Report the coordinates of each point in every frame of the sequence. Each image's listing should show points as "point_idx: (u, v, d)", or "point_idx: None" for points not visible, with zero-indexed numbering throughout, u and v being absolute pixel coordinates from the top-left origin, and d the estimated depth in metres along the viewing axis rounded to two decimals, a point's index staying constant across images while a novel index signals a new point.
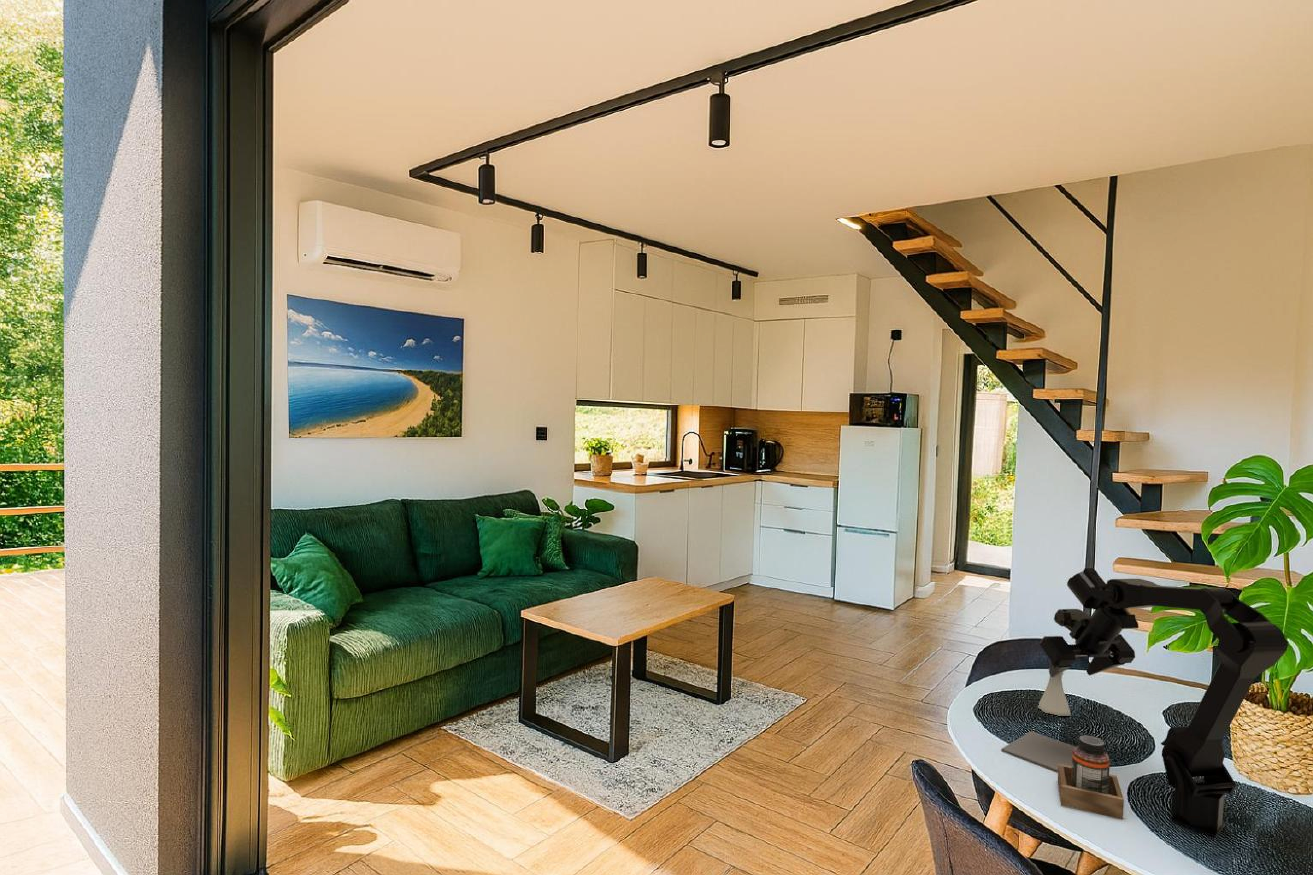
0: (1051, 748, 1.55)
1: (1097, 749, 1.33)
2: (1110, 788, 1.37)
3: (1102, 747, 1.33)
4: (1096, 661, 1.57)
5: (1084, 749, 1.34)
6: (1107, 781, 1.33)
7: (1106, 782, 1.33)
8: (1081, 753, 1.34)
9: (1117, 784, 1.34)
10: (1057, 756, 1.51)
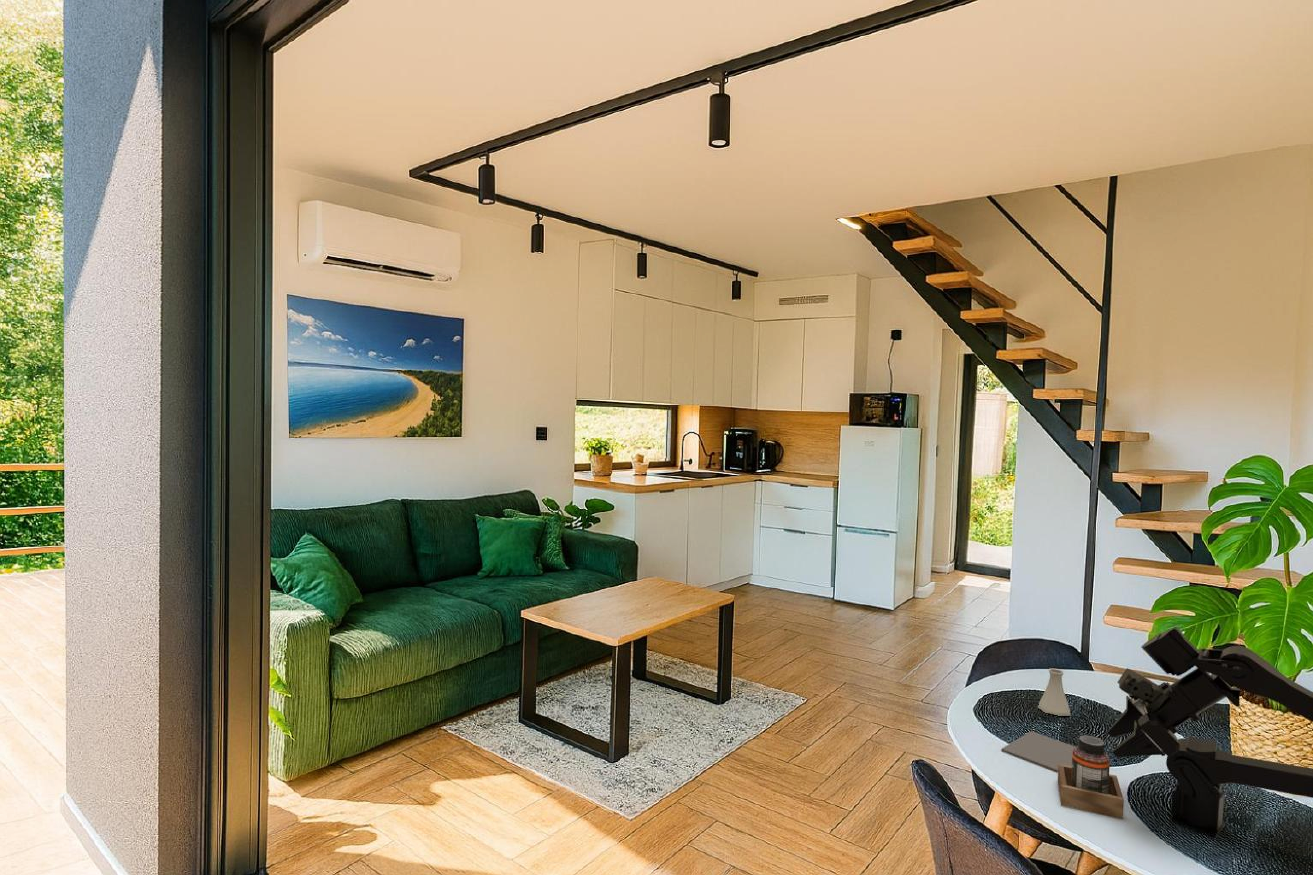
0: (1051, 748, 1.55)
1: (1097, 749, 1.33)
2: (1110, 788, 1.37)
3: (1102, 747, 1.33)
4: (1126, 722, 1.37)
5: (1084, 749, 1.34)
6: (1107, 781, 1.33)
7: (1106, 782, 1.33)
8: (1081, 753, 1.34)
9: (1117, 784, 1.34)
10: (1057, 756, 1.51)
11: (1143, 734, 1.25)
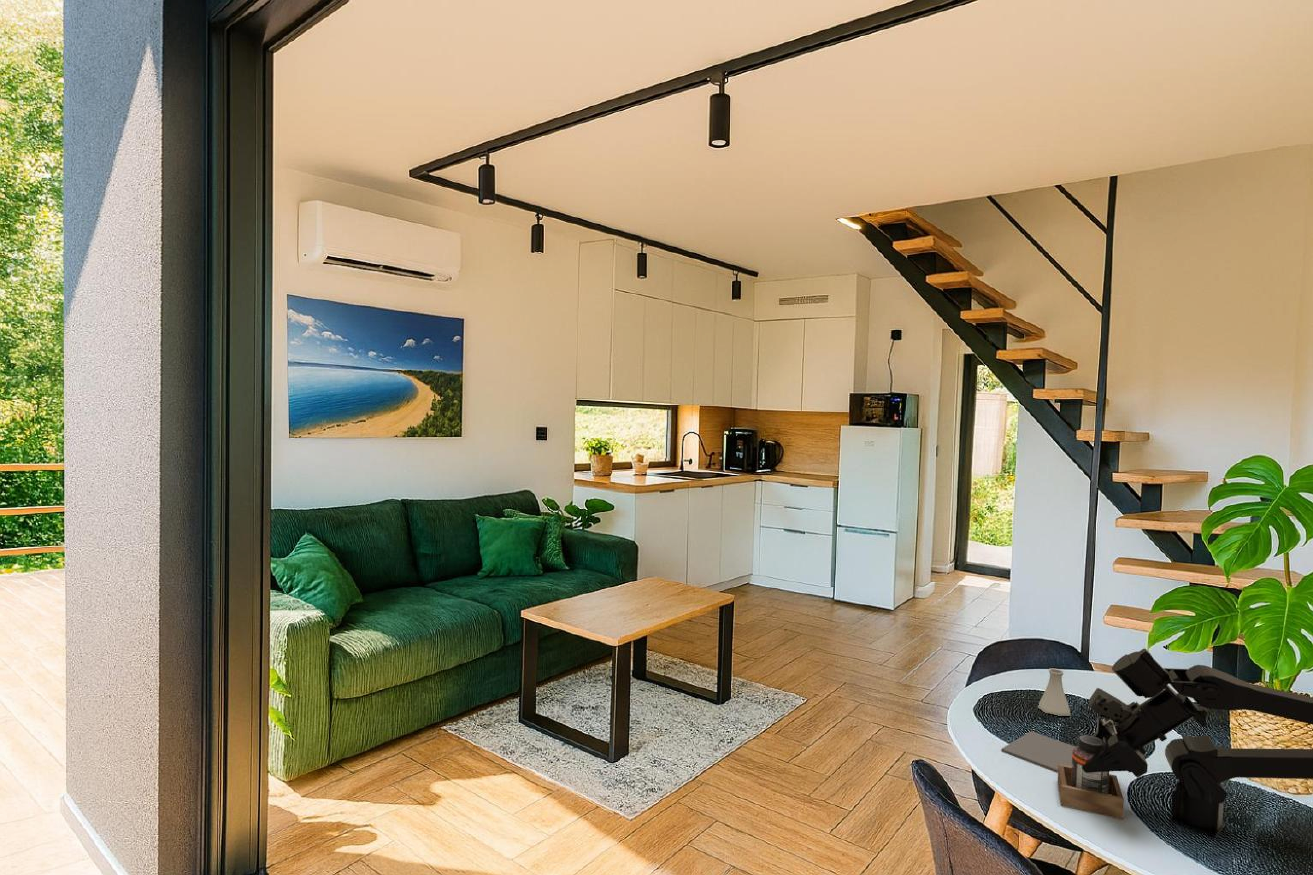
0: (1051, 748, 1.55)
1: (1097, 749, 1.33)
2: (1110, 788, 1.37)
3: (1102, 747, 1.33)
4: None
5: (1084, 749, 1.34)
6: (1107, 780, 1.33)
7: (1106, 782, 1.33)
8: (1081, 753, 1.34)
9: (1117, 784, 1.34)
10: (1057, 756, 1.51)
11: (1111, 751, 1.28)
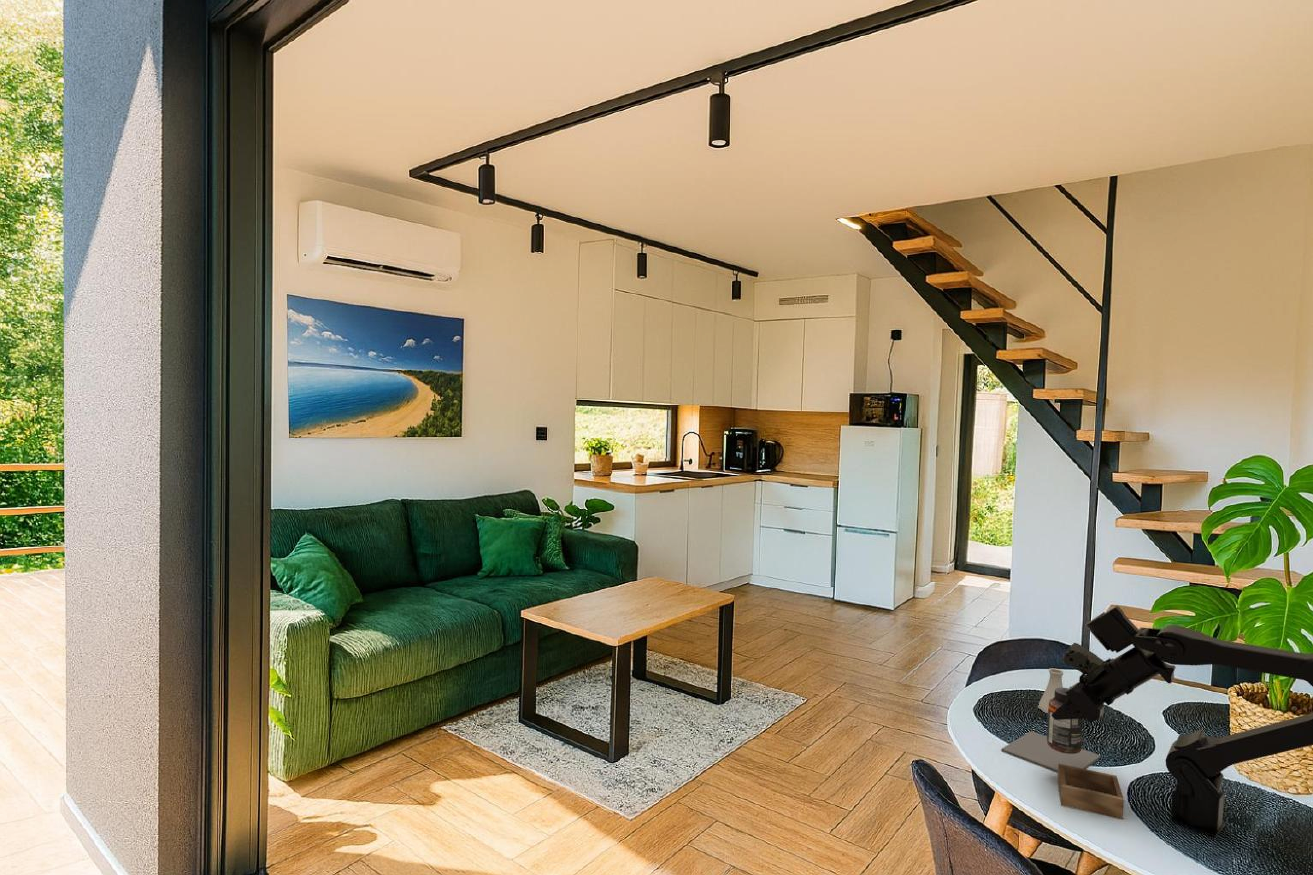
0: (1051, 748, 1.55)
1: None
2: (1110, 788, 1.37)
3: None
4: None
5: (1057, 698, 1.42)
6: (1078, 730, 1.39)
7: (1077, 731, 1.39)
8: (1053, 702, 1.42)
9: (1117, 784, 1.34)
10: (1057, 756, 1.51)
11: None
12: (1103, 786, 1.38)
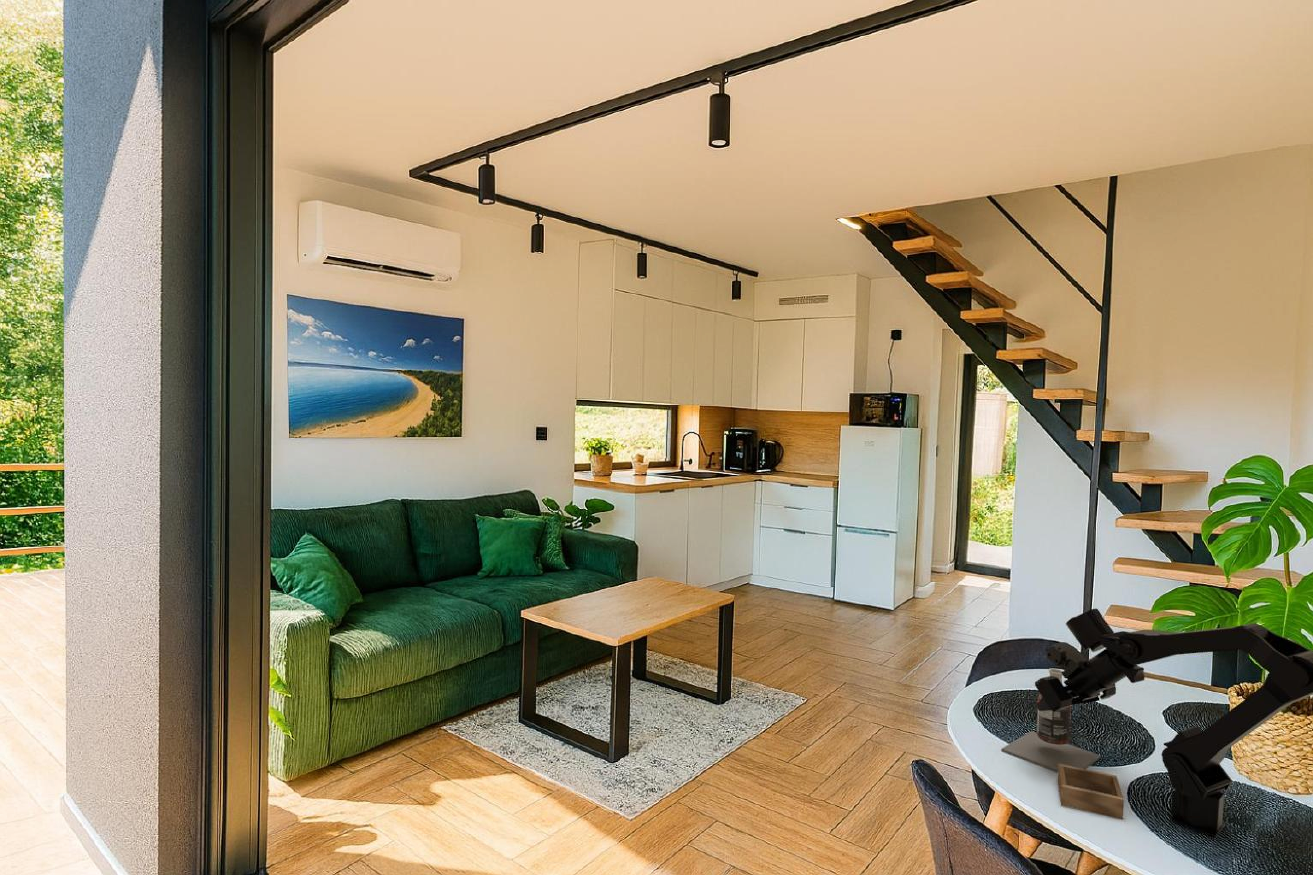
0: (1051, 748, 1.55)
1: None
2: (1110, 788, 1.37)
3: None
4: None
5: None
6: (1061, 723, 1.49)
7: (1059, 723, 1.49)
8: (1040, 694, 1.53)
9: (1117, 784, 1.34)
10: (1057, 756, 1.51)
11: None
12: (1103, 786, 1.38)
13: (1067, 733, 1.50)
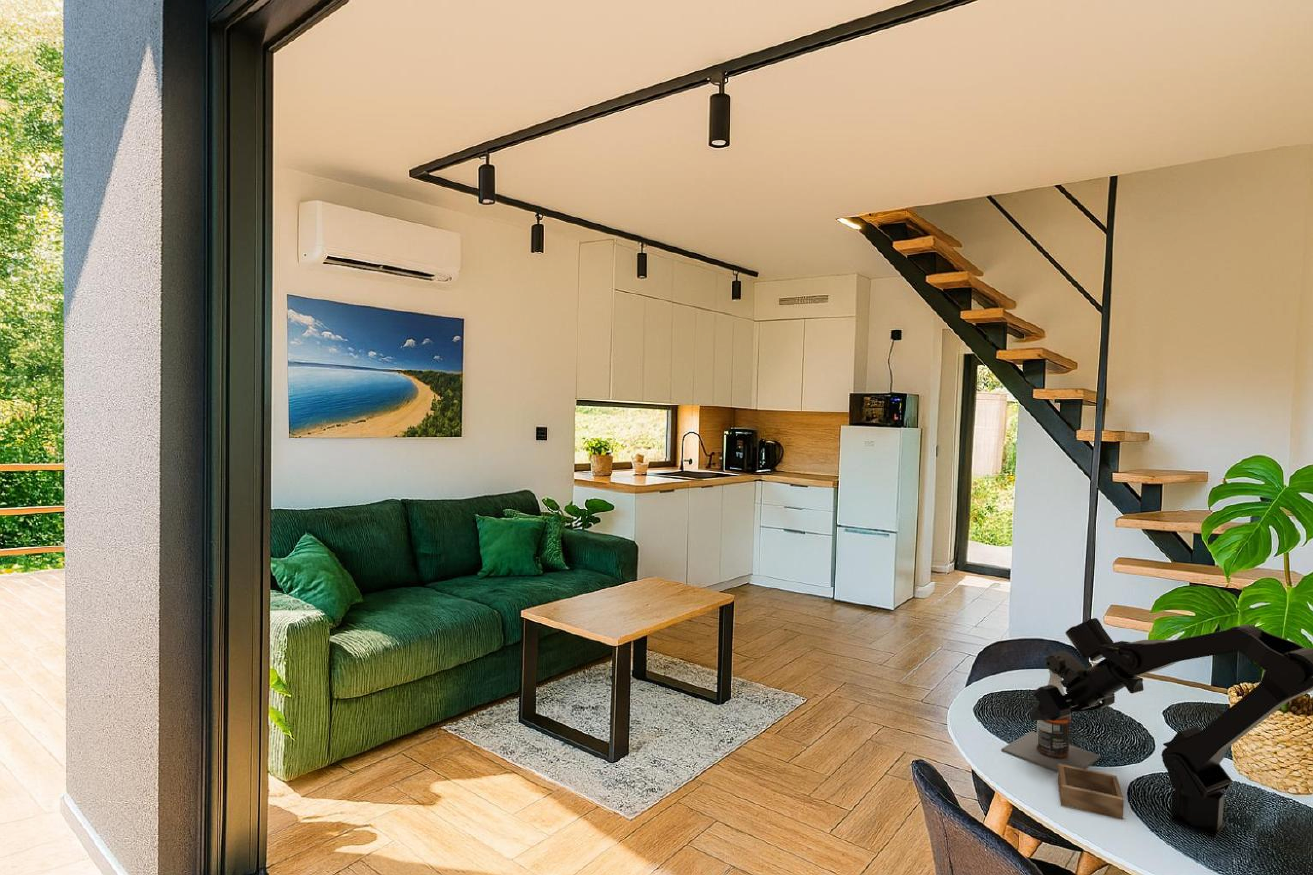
0: None
1: None
2: (1110, 788, 1.37)
3: None
4: None
5: None
6: (1060, 736, 1.50)
7: (1058, 737, 1.50)
8: None
9: (1117, 784, 1.34)
10: None
11: None
12: (1103, 786, 1.38)
13: (1066, 746, 1.50)
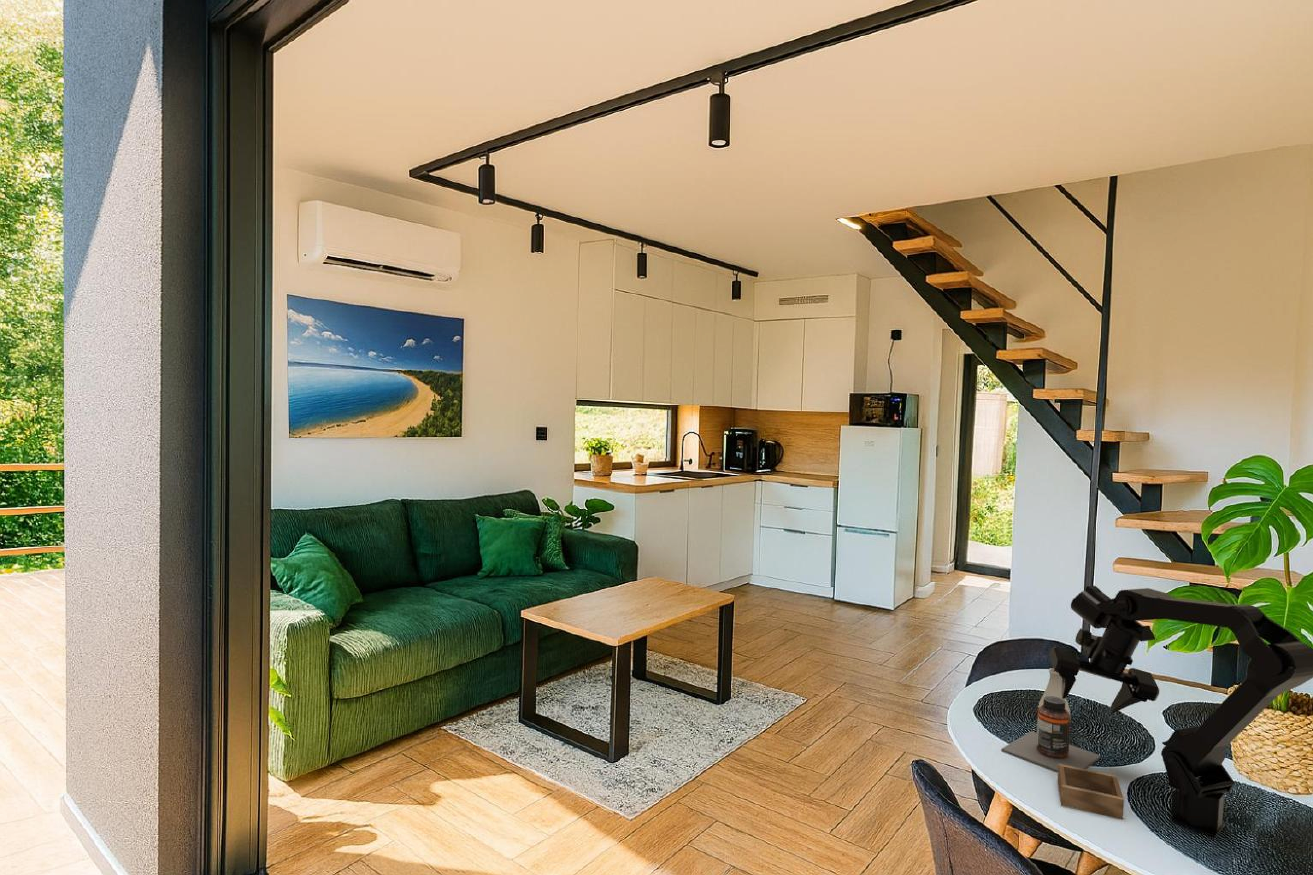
0: None
1: (1052, 706, 1.51)
2: (1110, 788, 1.37)
3: (1058, 705, 1.50)
4: (1119, 697, 1.47)
5: (1044, 705, 1.53)
6: (1061, 736, 1.50)
7: (1059, 737, 1.50)
8: (1040, 708, 1.53)
9: (1117, 784, 1.34)
10: None
11: None
12: (1103, 786, 1.38)
13: (1066, 746, 1.50)
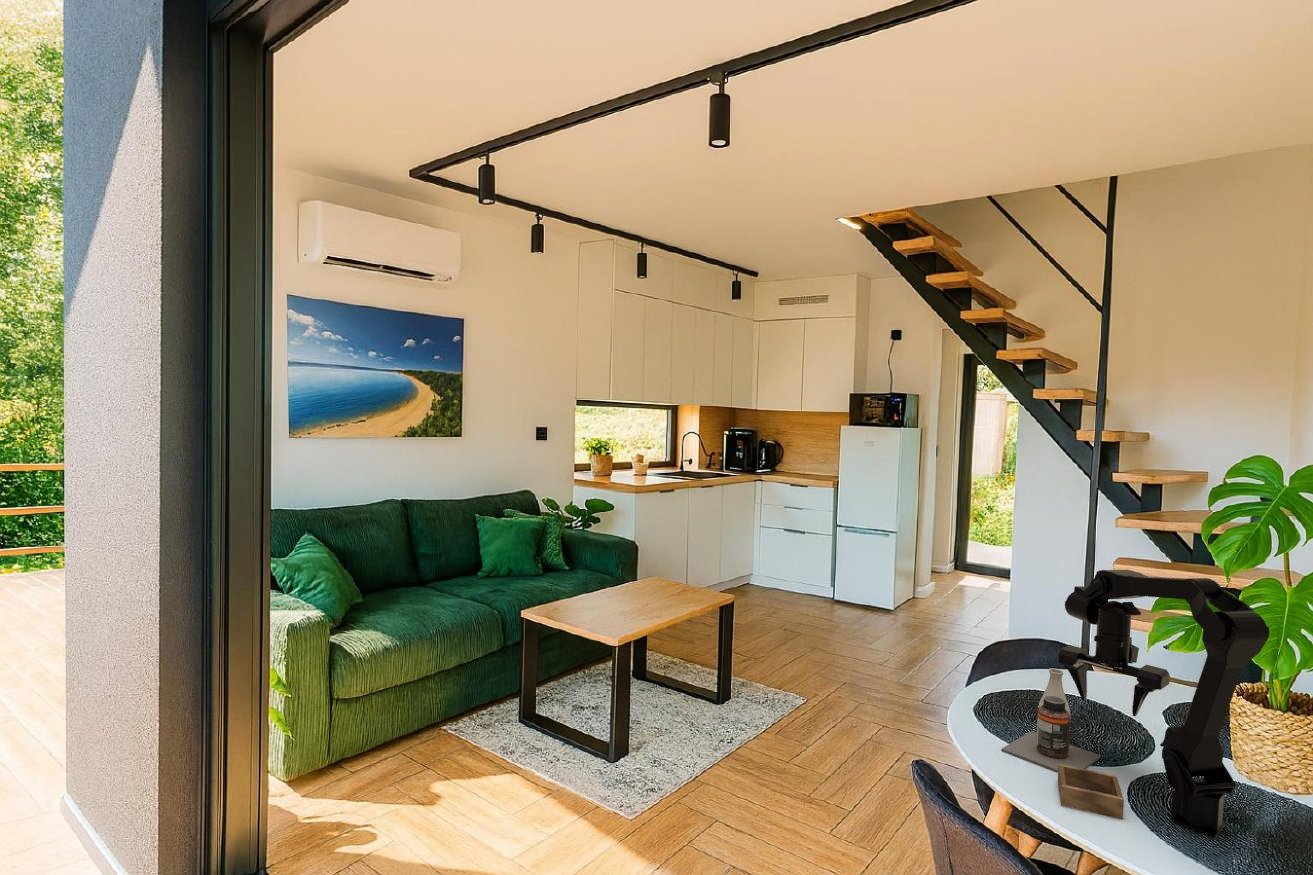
0: None
1: (1052, 706, 1.51)
2: (1110, 788, 1.37)
3: (1057, 705, 1.50)
4: None
5: (1044, 705, 1.53)
6: (1061, 736, 1.50)
7: (1059, 737, 1.50)
8: (1040, 708, 1.53)
9: (1117, 784, 1.34)
10: None
11: None
12: (1103, 786, 1.38)
13: (1066, 746, 1.50)
